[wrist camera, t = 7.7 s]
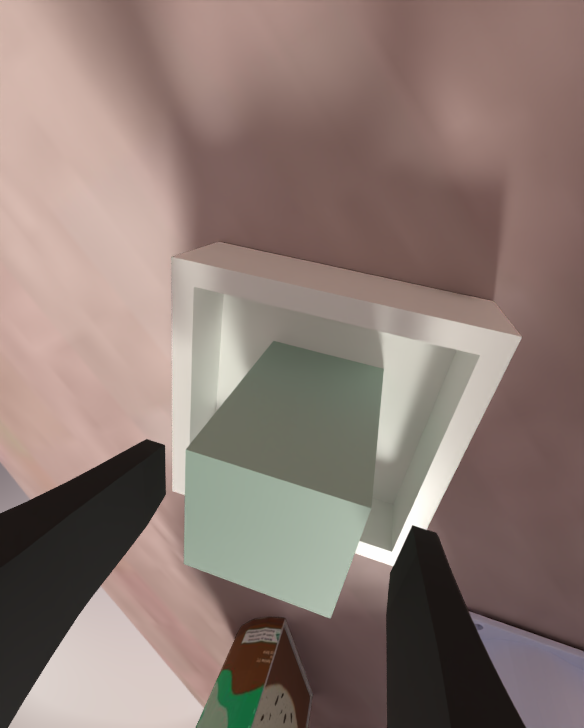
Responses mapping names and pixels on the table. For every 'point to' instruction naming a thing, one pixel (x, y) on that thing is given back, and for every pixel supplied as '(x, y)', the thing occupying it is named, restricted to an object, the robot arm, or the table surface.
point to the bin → (348, 341)
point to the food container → (260, 681)
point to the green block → (285, 477)
